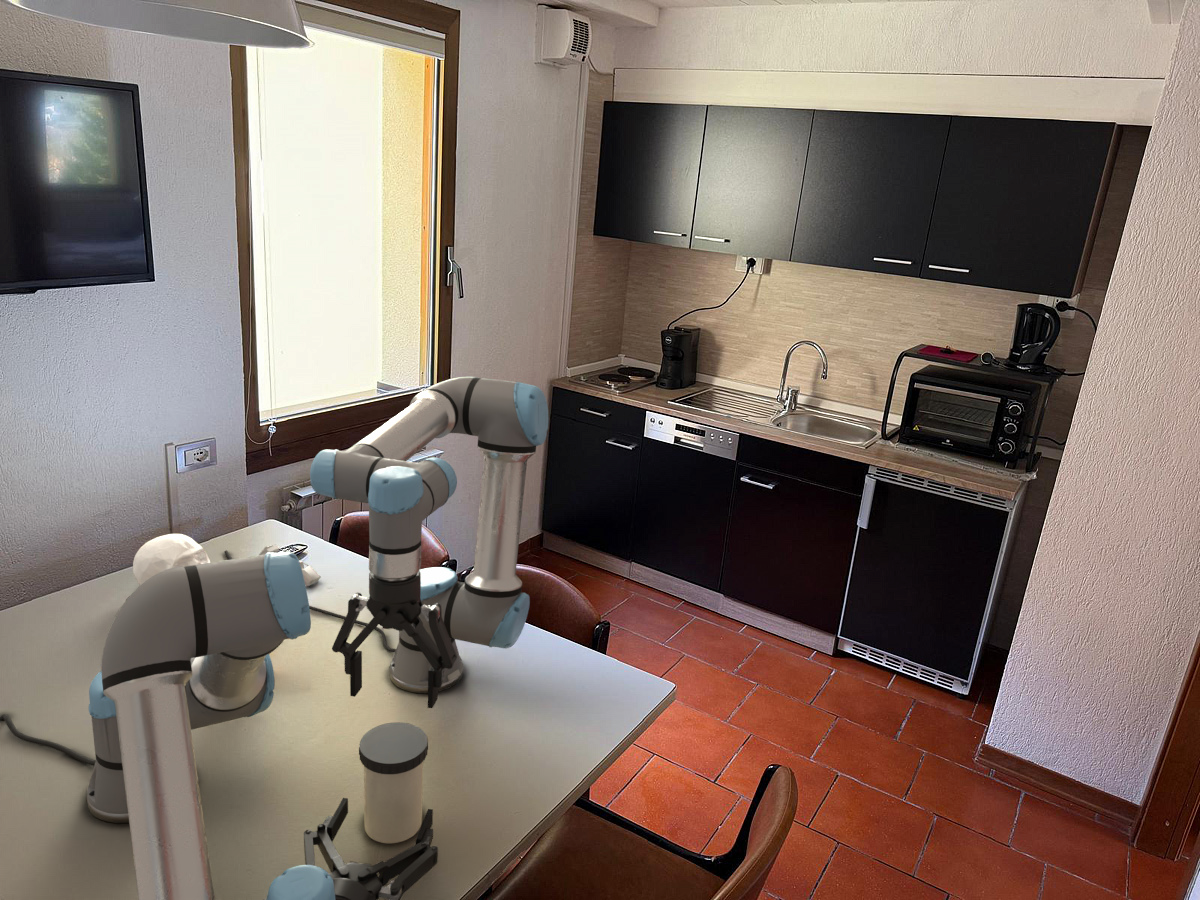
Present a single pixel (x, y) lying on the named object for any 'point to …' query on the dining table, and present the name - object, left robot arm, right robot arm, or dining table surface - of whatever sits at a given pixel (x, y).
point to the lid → (393, 748)
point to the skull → (167, 555)
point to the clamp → (308, 572)
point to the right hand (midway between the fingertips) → (394, 697)
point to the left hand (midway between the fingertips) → (387, 810)
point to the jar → (393, 804)
